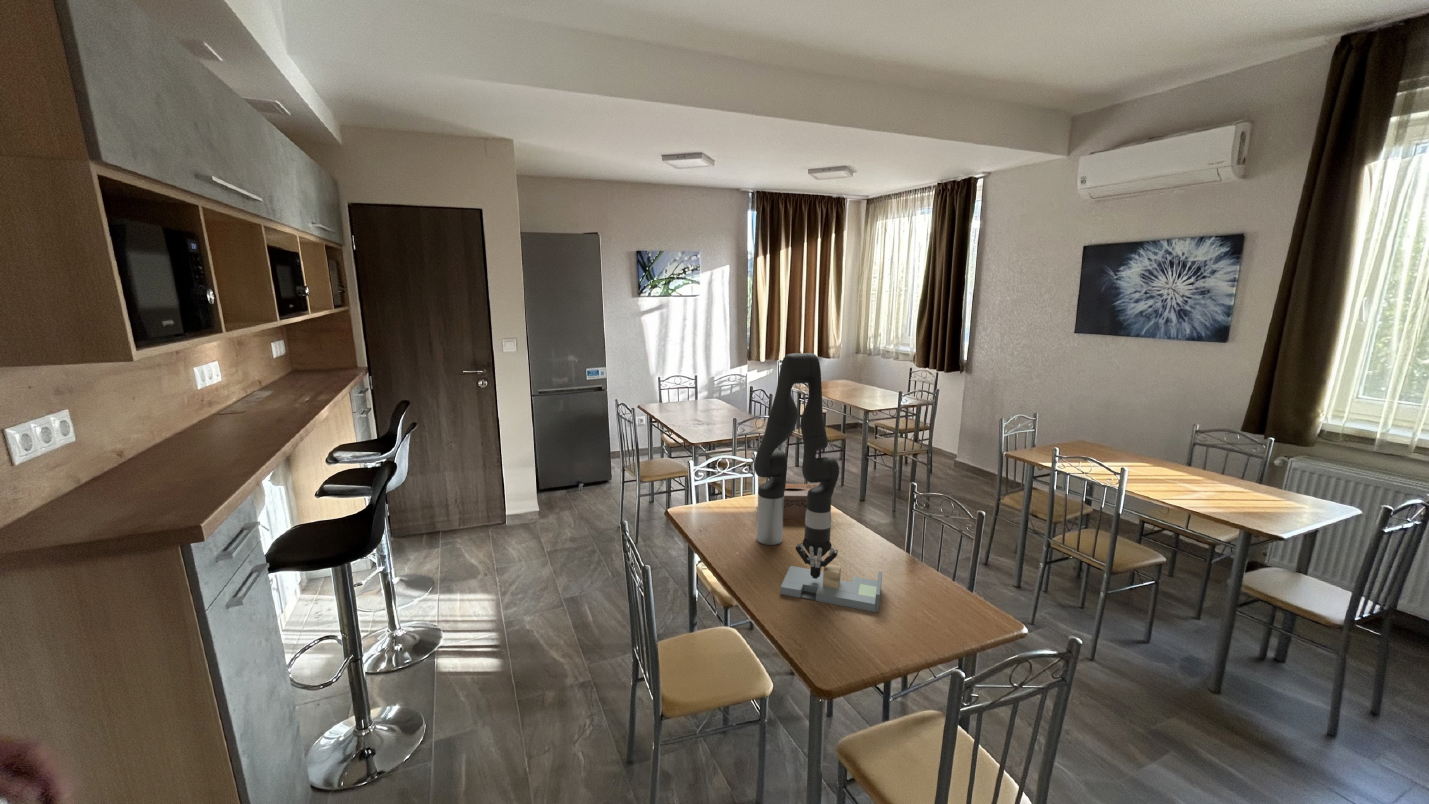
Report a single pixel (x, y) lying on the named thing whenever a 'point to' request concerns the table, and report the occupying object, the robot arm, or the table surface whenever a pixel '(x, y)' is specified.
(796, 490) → the tissue box cover
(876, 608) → the plate
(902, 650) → the table surface
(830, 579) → the beech block
